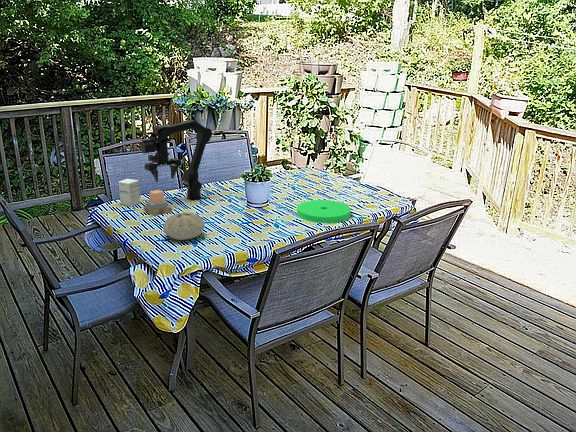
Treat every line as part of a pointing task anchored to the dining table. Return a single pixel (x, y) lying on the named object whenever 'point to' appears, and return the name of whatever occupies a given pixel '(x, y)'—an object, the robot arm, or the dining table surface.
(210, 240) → the dining table surface
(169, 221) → the decorative shell
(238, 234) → the dining table surface
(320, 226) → the dining table surface
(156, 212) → the walnut slab
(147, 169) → the robot arm
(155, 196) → the terracotta cube
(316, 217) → the disc
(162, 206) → the grey square block
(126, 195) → the supplement box
